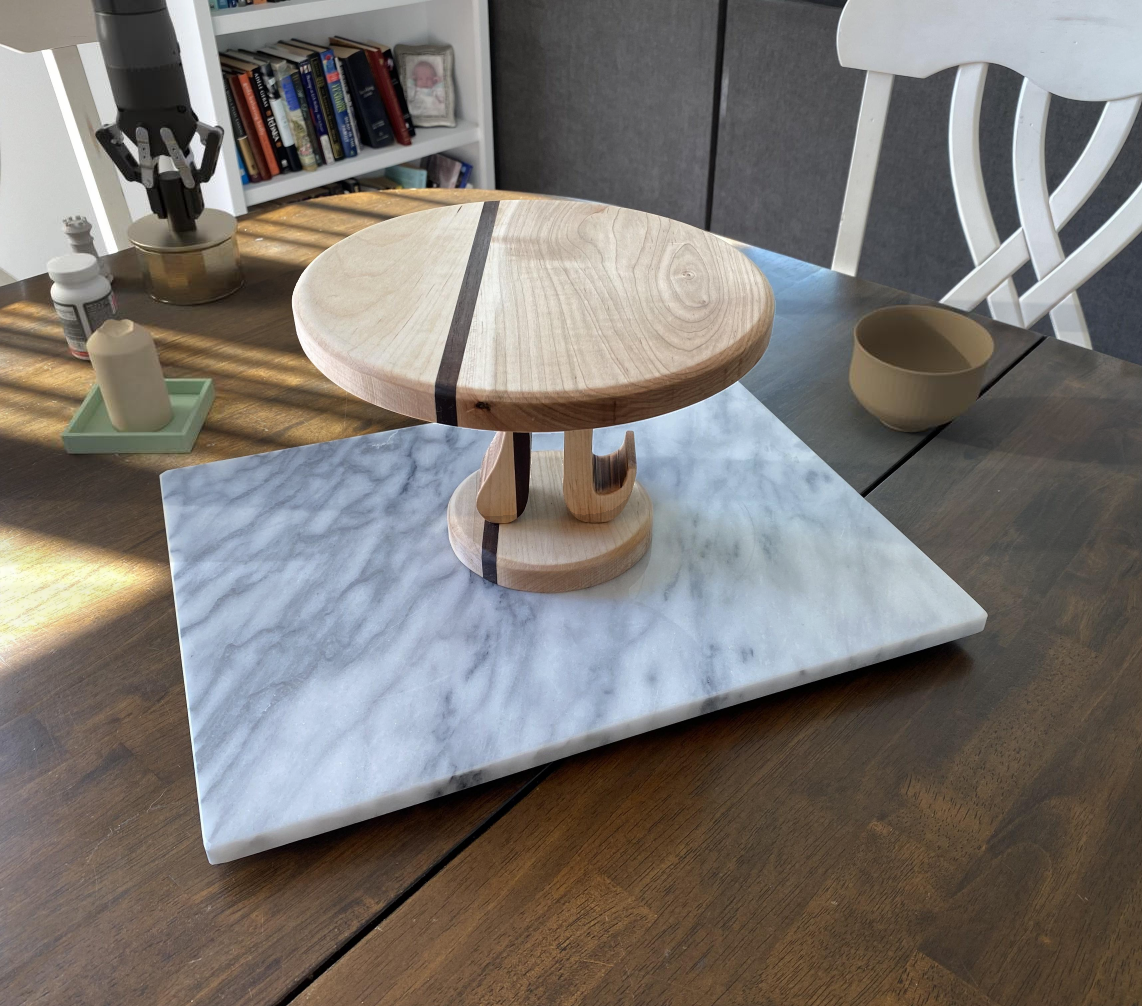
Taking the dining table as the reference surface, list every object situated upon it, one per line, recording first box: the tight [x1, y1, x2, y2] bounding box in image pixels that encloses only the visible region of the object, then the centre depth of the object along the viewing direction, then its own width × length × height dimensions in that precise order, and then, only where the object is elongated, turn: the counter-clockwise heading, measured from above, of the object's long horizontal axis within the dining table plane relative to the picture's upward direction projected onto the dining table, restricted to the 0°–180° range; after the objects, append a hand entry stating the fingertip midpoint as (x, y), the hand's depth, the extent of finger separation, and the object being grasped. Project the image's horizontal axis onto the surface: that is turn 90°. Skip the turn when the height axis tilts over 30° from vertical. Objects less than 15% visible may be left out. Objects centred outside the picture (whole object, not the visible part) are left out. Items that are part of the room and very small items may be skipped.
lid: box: [126, 170, 239, 252], centre depth 107 cm, size 12×12×7 cm
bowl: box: [848, 304, 996, 433], centre depth 91 cm, size 13×13×10 cm
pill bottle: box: [46, 252, 122, 361], centre depth 97 cm, size 6×6×10 cm
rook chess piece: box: [61, 214, 114, 285], centre depth 110 cm, size 4×4×8 cm
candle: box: [86, 318, 173, 433], centre depth 86 cm, size 6×6×10 cm
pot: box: [133, 232, 245, 306], centre depth 111 cm, size 11×11×6 cm
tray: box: [60, 378, 217, 455], centre depth 89 cm, size 11×10×2 cm
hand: (180, 216), depth 108 cm, fingers closed on lid, 3 cm apart
